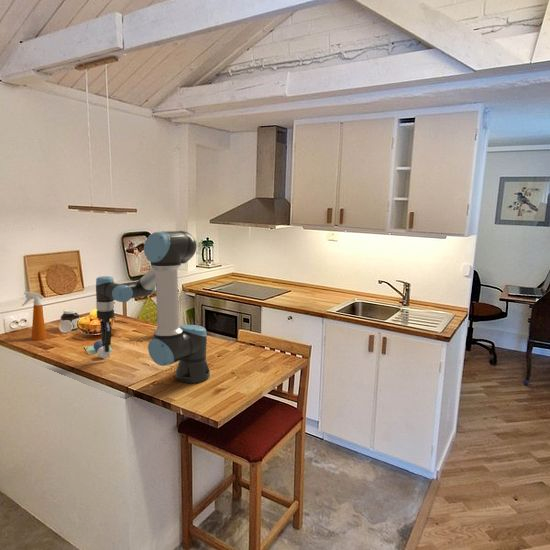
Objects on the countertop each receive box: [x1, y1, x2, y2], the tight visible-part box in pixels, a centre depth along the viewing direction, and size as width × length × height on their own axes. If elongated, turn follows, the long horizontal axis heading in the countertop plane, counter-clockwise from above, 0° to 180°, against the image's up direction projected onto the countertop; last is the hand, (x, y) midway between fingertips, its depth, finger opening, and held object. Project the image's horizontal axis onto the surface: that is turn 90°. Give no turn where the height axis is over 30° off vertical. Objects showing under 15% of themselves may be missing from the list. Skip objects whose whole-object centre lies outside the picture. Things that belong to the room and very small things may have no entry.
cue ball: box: [96, 347, 104, 359], centre depth 200 cm, size 6×6×6 cm
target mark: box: [84, 345, 114, 355], centre depth 211 cm, size 12×12×1 cm
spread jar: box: [58, 308, 81, 334], centre depth 238 cm, size 12×11×12 cm
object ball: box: [93, 340, 103, 351], centre depth 208 cm, size 6×6×6 cm
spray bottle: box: [21, 291, 47, 341], centre depth 220 cm, size 7×11×26 cm, turn 123°
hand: (106, 357), depth 195 cm, fingers closed
